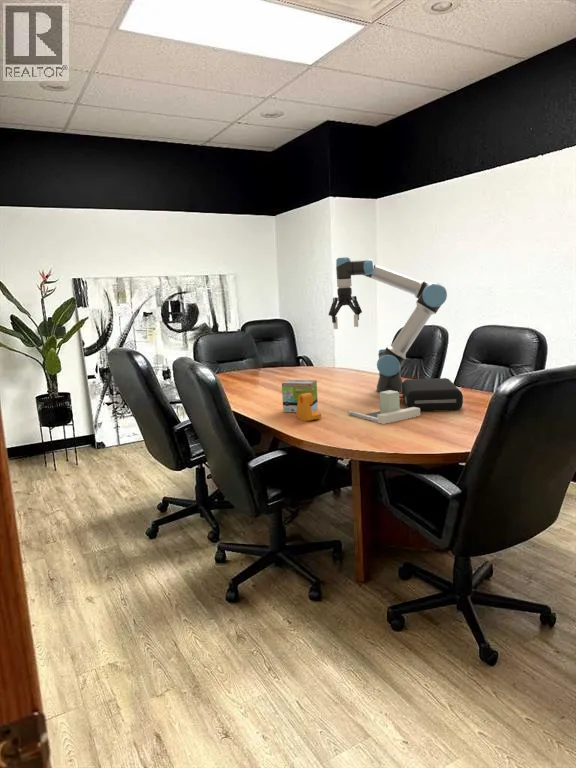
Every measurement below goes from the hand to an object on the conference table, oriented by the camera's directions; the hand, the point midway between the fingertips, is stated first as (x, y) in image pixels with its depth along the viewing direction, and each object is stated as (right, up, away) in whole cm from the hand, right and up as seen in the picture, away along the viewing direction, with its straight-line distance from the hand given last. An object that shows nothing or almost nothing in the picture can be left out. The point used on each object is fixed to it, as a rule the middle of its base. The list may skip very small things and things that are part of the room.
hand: (346, 327), depth 289 cm
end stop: (+18, -45, -53) cm, 72 cm away
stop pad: (+13, -44, -44) cm, 64 cm away
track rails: (+11, -44, -42) cm, 62 cm away
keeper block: (+15, -44, -47) cm, 66 cm away
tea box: (-25, -43, -24) cm, 55 cm away
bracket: (-21, -46, -42) cm, 66 cm away
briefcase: (+35, -40, -25) cm, 59 cm away
